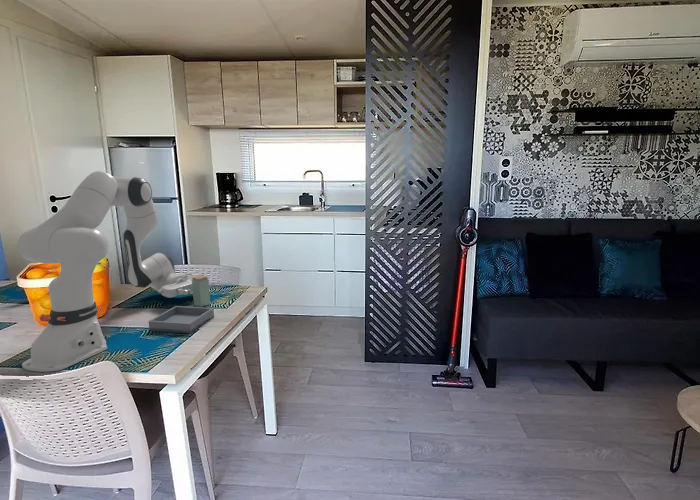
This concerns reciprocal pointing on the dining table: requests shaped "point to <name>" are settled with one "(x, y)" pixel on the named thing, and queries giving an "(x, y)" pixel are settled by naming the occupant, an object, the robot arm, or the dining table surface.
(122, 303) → the dining table surface
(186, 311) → the bin
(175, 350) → the dining table surface
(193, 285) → the spice jar
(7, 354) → the dining table surface
